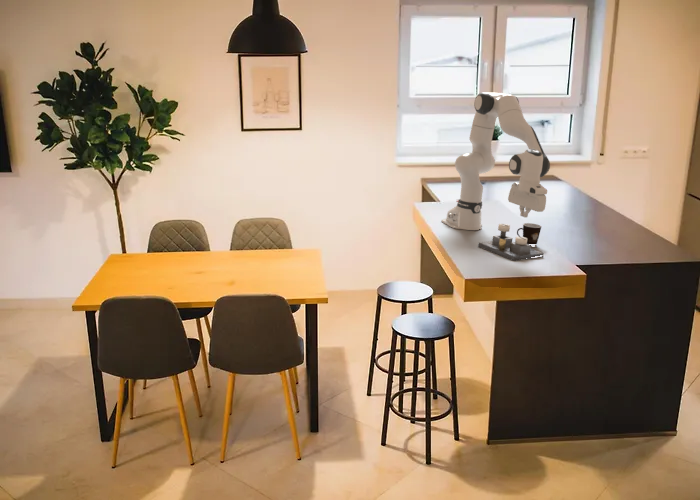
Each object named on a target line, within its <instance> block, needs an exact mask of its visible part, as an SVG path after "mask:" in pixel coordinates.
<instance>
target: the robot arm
mask: <svg viewBox="0 0 700 500" xmlns="http://www.w3.org/2000/svg"><path fill="white" fill-rule="evenodd" d="M473 106H474V110H475V113H474V117H473V121H472V123H471V129H470V134H469V141H470V143H471V145H472V151H471V152H468V153H463V154H461V155H458V156H457V158H456V159H455V161H454V167H455V170H456V171H457V173H458V174H459V177H460V184H461V185H460V186H461V187H460V197H459V199H457V200H456V203H457V204H456V205H455V206H454V207H453V208H451V209H449V210H448V211H447V214H446V218H443V219H441V222H442V223H443V224H445V225H446V226H449V227H450V228H453V229H455V230H456V229H457V230H458V229H459V230H464V231H480V230H482V227H483V224H482V209H483V207H482V206H483V201H482V200H483V193H484V186H483V184H482V183H481V181H480V174H486V173H488V172H490V171H492V170H493V169H494V167H495V165H496V161H495V157H494V156H493V152H492V141H493V136H494V131H495V126H496V120H497V119H498V122H499V123H498V124H499V126H500V128H501V131H503V132H504V133H505V134H506V135H508V136H511V137H512V138H513V137H514V138H516V139H519V140H521V141H523V142H524V143H525V144H526V146H527V148H528V149H525V150H524V152H522V153H517V154H514V155H512V156H511V158H510V159H509V162H508V169H509V171H510V172H511V174H513V175H515V176H519V181H518V182H514V183H512V184H511V186H510V190H509V192H508V197H507V200H508V202H509V203H512V204H514V205H517V206H519V208H518V209H519V211H520V215H519V216H520V217H523V218H528V217H529V213H531V211H534V212H538V213H542V212H544V211H545V209H546V205H547V196H546V195H547V193H548V190H547V188H545V186H543V185H542V184H541V178H543V177H545V175H547V174H548V173H549V170H550V169H551V162H550V160H549V158H548V156H547V155H546V154H545V152H544V149H543V147H542V144H541V142H540V139H539V138H538V136H537V133H536V131H535V130H534V129H535V128H534V127H532V125H530V124H529V122H528V121H527V120H526V118H525V117H524V114H523V112H522V110H523V109H522V107H521V105H520V100H519V98H518V97H517V96H515V95H513V94H509V93H508V94H507V93H503V92H487V91H485V92H480V93H478V94H477V95H476V96H475V99H474V105H473ZM481 226H482V227H481ZM479 229H480V230H479Z"/></svg>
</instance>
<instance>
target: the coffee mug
mask: <svg viewBox="0 0 700 500" xmlns="http://www.w3.org/2000/svg"><path fill="white" fill-rule="evenodd" d="M520 230H522V236H520V234H519V231H520ZM541 230H542V225H541V224H537V223H529V222H526V223H523V224H522V227H519V228H518V229H517V230H516V235H517V237H525V238H527V244H537V245H538V241H539V237H540V234H541Z"/></svg>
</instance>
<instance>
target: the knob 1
mask: <svg viewBox="0 0 700 500" xmlns="http://www.w3.org/2000/svg"><path fill="white" fill-rule="evenodd" d="M497 226H498V228H497V229H498V230H497V231H500V238H505V237H506V236H507V232H510V229H511V224H507V223H499V224H498V225H497Z"/></svg>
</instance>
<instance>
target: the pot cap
mask: <svg viewBox="0 0 700 500" xmlns="http://www.w3.org/2000/svg"><path fill="white" fill-rule="evenodd" d="M505 244H506V239H503V238H500V242H499V249H503V250H504V249H505Z"/></svg>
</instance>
